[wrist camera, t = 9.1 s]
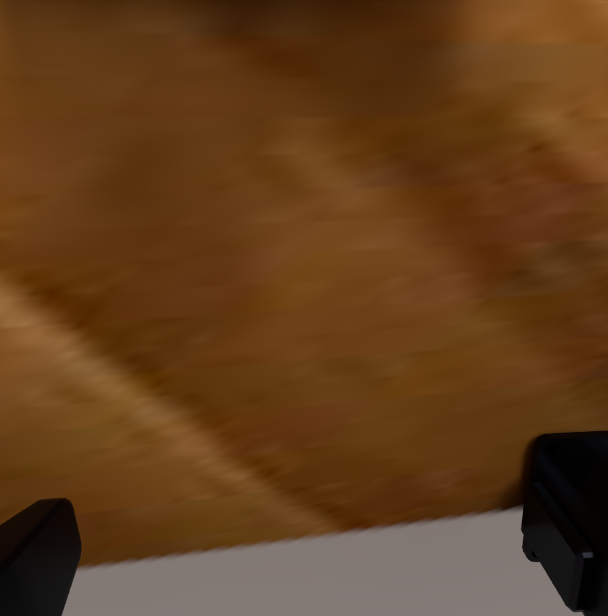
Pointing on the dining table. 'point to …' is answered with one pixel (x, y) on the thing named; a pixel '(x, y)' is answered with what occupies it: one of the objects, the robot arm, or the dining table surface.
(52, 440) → the dining table surface
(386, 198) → the dining table surface
